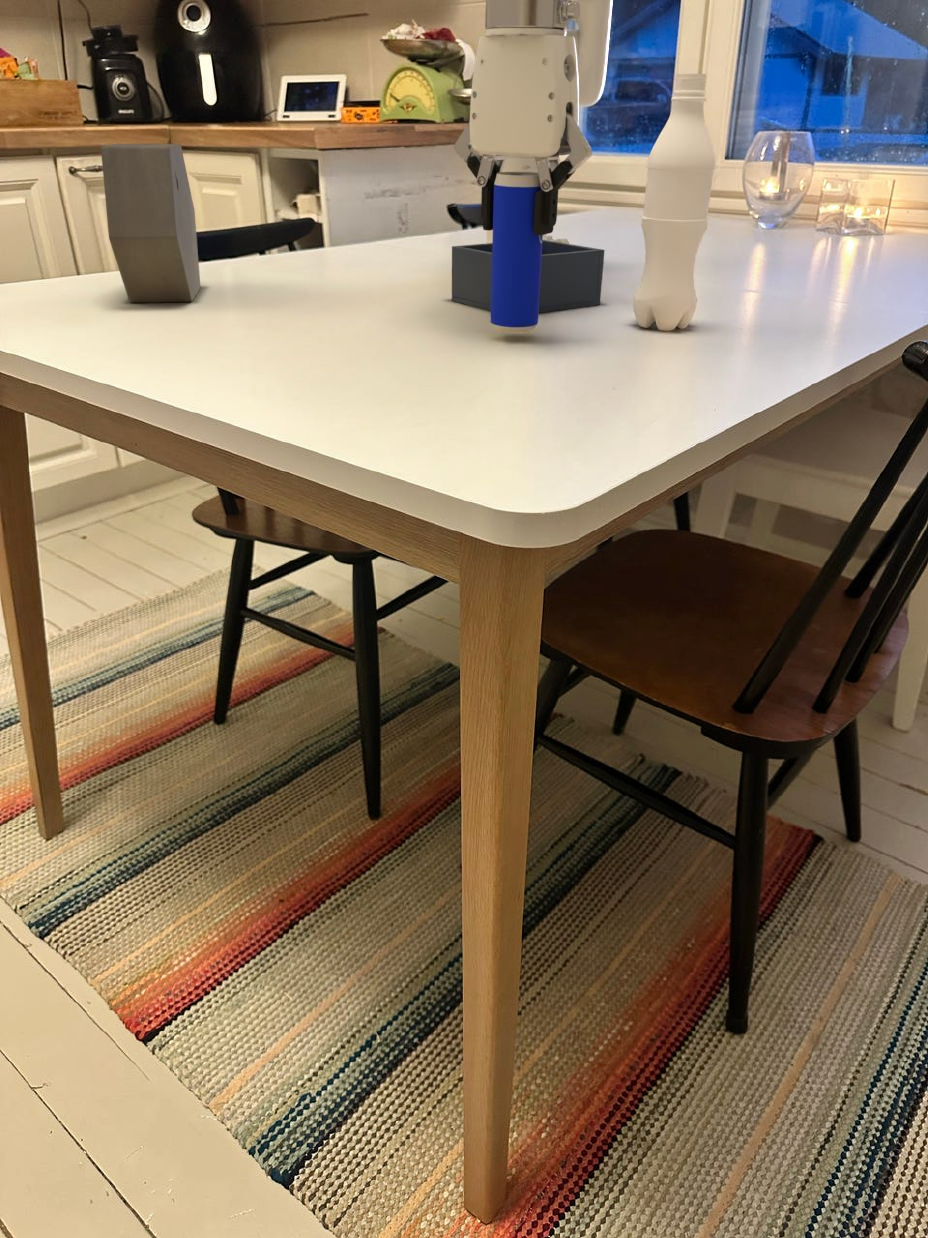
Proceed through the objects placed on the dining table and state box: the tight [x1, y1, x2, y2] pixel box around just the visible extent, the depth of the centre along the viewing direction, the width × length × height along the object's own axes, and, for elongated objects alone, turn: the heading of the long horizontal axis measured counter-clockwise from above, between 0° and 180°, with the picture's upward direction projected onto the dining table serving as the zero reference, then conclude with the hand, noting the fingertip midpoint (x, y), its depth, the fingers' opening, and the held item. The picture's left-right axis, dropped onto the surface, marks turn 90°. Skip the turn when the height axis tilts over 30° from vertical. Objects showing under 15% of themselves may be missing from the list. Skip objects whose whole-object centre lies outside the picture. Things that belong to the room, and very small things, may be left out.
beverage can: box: [489, 172, 543, 334], centre depth 92 cm, size 5×5×15 cm
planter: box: [100, 143, 201, 304], centre depth 111 cm, size 17×8×21 cm
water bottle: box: [632, 73, 716, 332], centre depth 97 cm, size 7×7×25 cm
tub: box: [451, 240, 605, 314], centre depth 113 cm, size 15×13×7 cm
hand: (517, 229), depth 91 cm, fingers closed on beverage can, 5 cm apart
